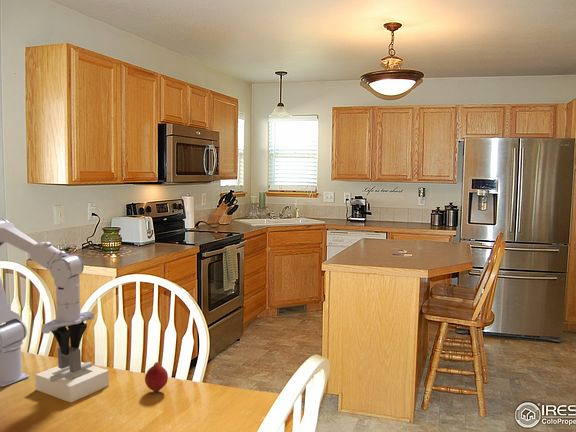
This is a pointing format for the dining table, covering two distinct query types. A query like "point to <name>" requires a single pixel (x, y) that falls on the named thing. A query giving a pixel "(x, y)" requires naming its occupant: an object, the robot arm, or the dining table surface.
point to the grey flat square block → (70, 359)
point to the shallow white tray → (72, 381)
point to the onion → (156, 377)
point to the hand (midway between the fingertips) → (69, 352)
